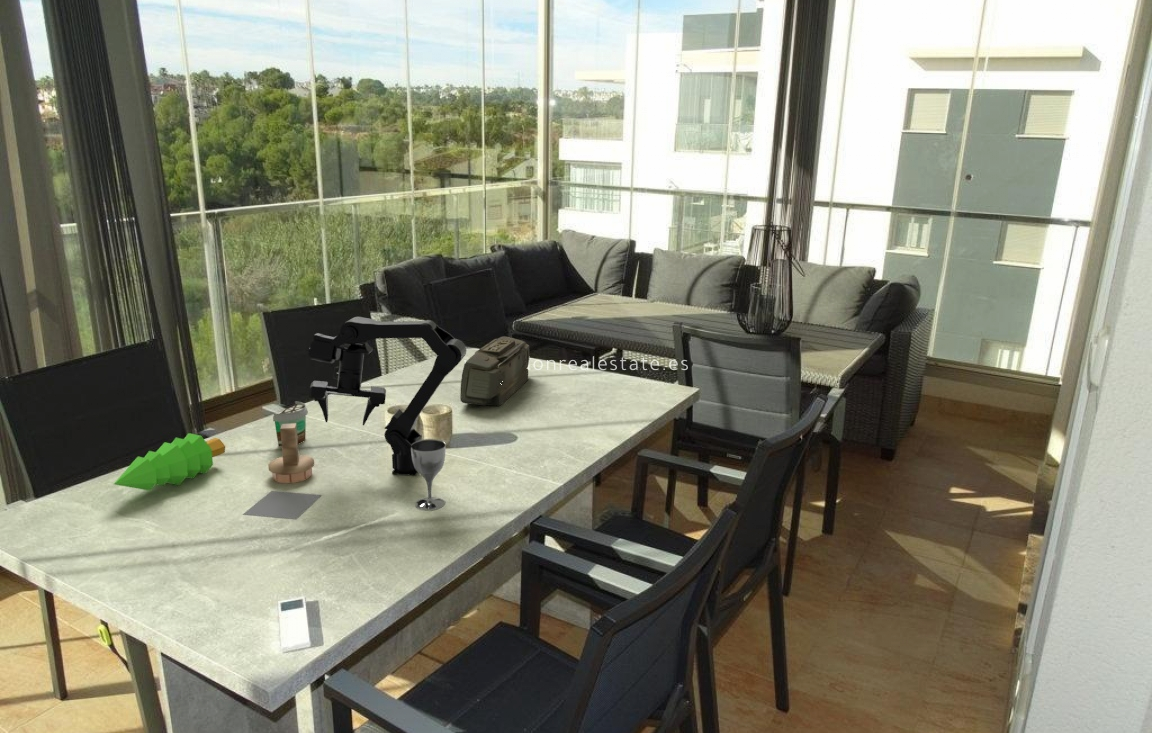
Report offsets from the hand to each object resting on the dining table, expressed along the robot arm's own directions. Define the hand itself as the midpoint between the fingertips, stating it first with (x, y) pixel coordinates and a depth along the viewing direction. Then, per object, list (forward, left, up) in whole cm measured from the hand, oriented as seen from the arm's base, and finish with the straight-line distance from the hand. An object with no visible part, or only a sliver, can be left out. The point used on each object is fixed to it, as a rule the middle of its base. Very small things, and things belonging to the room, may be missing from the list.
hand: (345, 423), depth 206 cm
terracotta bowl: (+11, +9, -12) cm, 19 cm away
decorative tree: (+38, +18, -13) cm, 44 cm away
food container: (+22, -15, -13) cm, 30 cm away
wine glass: (-28, +17, -13) cm, 35 cm away
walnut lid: (+11, +9, -9) cm, 17 cm away
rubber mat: (+5, +25, -12) cm, 28 cm away
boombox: (-23, -73, -13) cm, 78 cm away
